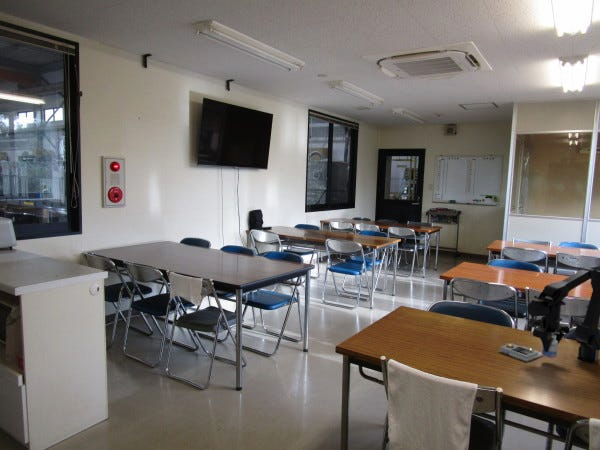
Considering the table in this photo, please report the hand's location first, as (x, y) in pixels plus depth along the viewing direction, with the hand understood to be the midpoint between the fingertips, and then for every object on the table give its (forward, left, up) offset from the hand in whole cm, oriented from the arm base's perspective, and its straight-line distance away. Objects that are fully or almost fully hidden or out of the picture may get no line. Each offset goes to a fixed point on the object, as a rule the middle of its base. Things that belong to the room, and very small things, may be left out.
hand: (549, 350), depth 180 cm
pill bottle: (0, 0, -3) cm, 3 cm away
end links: (+12, +1, -5) cm, 13 cm away
